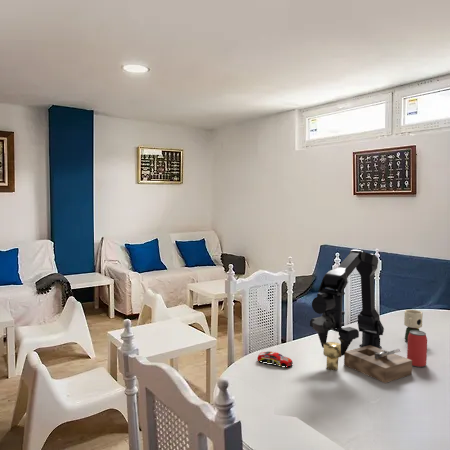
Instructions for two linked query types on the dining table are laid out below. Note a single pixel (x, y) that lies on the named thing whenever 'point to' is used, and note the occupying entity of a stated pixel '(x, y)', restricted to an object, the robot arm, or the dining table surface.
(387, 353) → the latch bar
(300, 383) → the dining table surface
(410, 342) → the beer can
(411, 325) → the character mug
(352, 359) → the brown rectangular block
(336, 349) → the brass pin
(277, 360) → the race car
